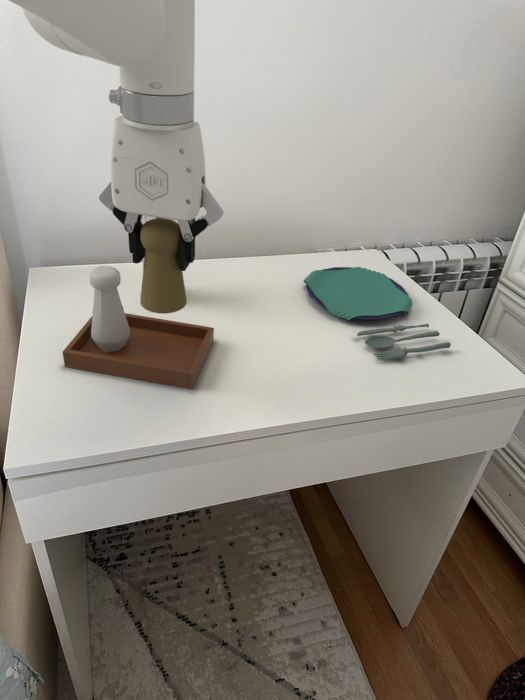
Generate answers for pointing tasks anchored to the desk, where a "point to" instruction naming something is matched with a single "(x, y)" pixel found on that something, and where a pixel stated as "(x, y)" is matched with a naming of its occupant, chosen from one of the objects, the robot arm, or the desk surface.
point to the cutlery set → (366, 304)
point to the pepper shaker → (162, 267)
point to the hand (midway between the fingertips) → (162, 261)
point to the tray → (146, 352)
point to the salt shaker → (108, 310)
